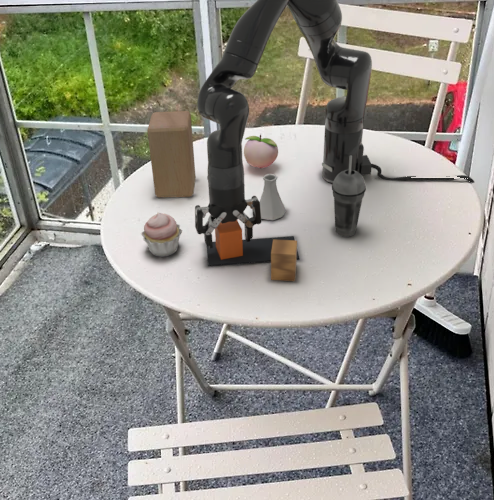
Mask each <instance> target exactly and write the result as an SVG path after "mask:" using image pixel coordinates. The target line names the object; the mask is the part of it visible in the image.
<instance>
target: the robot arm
mask: <svg viewBox="0 0 494 500" xmlns="http://www.w3.org/2000/svg"><path fill="white" fill-rule="evenodd" d="M286 7H287V8H288V9H289V11H290V14H291V16H292V18H293V20H294V22H295V24H296V26H297V27H298V30H299V31H300V33H301V34H302V36H303V38H304V40H305V42H306V44H307V46H308V48H309V50H310V53H311V54H312V57H313V60H314V62H315V66H316V69H317V72H318V75H319V77H320V79H321V81H322V82H323V83H324V84H325V85H326V86H328V87H331V88H336V89H340V90H343V91H346V95H344V96H338V97H335V98H332V99H330V100H329V101H328V102H327V103H326V106H325V118H324V135H323V136H324V138H323V139H324V140H323V154H322V156H323V158H322V163H321V167H322V171H321V176H322V179H323V180H324V181H326V182H327V183H330V184H333V182H334V179H335V178H336V176H337V175H338V174H339V173H340V172H342V171H344V170H349V158H350V155H351V156H352V165H351V170H355V171H357V172H359V173H360V174H361V175H362V176H370V175H372V169H374V170H376V171H377V173H376V174H377V177H378V178H379V179H381V180H384V181H392V182H393V181H394V182H402V181H457V180H458V179H454V178H411V177H416V176H417V175H407V177H406V176H405V175H404V176H397V177H388V176H385V175H384V174H382V172H383V171H382V168H381V167H380V166H379V165H377V164H374V163H371V161H370V159H369V158H370V157H368V155H367V154H364V150H365V149H364V148H365V146H364V145H363V132H364V121H365V111H366V107H367V103H368V100H369V99H368V98H369V89H370V83H371V77H372V70H373V61H372V57H371V54H370V53H369V52H368V51H364V50H360V49H354V48H347V47H343V46H340V45H339V44H338V43H337V42H336V39H335V38H336V36H337V34H338V32H339V31H340V28H341V25H342V21H343V12H342V10H341V6H340V4H339V2H338V0H256V1H255V2H254V3H253V4H251V6H250V7H248V9H246V11H245V12H244V13H243V14H242V15H241V16H240V17H239V18H238V20H237V21H236V23H235V25H234V27H233V28H232V30H231V33H230V35H229V38H228V40H227V43H226V45H225V48H224V51H223V53H222V56H221V59H220V60H219V61H218V63H217V64H216V65H215V67H214V69H213V70H212V71H211V73H210V74H209V75H208V77H207V79H206V80H205V82H204V83H203V84H202V86H201V87H200V90H199V92H198V95H197V99H196V100H197V101H196V109H197V111H198V113H199V115H200V116H201V117H203V118H204V119H206V120H209V121H210V122H213V123H215V124H217V125H219V129H216V130H214V131H212V132H211V133H210V134H209V135H208V137H207V139H206V151H207V153H206V154H207V176H206V178H207V179H206V180H207V185H208V186H207V187H208V205H207V206H201V205H199V204H197V205H195V206H194V227H195V230H196V233H197V234H198V235H203V236H204V244H205V246H206V247H207V246H209V248H213V243H212V242H213V232H214V231H215V228H217V227H218V225H219V224H220V223H222V224H223V223H227V222H235V221H236V220H239V221H240V223H242V224H244V240H245V239H246V241H247V242H250V239H254V238H253V237H254V230H253V229H254V226H255V225H261V224H262V219H261V211H260V202H259V201H260V199H259V198H258V196H257V195H253V196H251V198H248V199H246V194H245V193H246V192H245V167H244V163H243V162H244V161H243V139H244V135H245V132H246V127H247V124H248V120H249V115H250V105H249V101H248V98H247V97H246V95H245V94H244V93H242V92H241V91H238V90H237V89H236V90H235V89H234V88H233V87H234V86H235V84H236V83H237V82H238V81H240V80H250V79H253V77H254V76H255V74H256V72H257V69H258V66H259V64H260V62H261V60H262V57H263V54H264V52H265V49H266V47H267V45H268V42H269V40H270V37H271V35H272V33H273V31H274V29H275V27H276V25H277V23H278V21H279V20H280V17H281V16H282V14H283V13H284V11H285V9H286ZM456 176H457V177H460V178H464V179H463V180H465V181H467V182H469V181H470V182H469V183H470V184H475V180H474V179H473V178H472V177H471V176H469V175H465V174H459V175H456ZM465 178H466V179H465ZM467 178H468V179H467ZM248 207H249V208H250V209H251V210H252V216H251V217H250V216H248V214H246V212H245V210H246V209H247V208H248ZM208 213H209V214H210V215H209V216H208V218H207V221H206V222H205V224H204V218H205V217H206V216H207V214H208Z"/></svg>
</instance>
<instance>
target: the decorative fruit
mask: <svg viewBox="0 0 494 500" xmlns="http://www.w3.org/2000/svg"><path fill="white" fill-rule="evenodd" d="M244 140H246V142H245V144H244V147H243V156H244V159H245V161H246V163H247V164H248V165H250V166H252V167H254V168H258V169H265V168H268V167H271V166H272V165H273V164H274V163H275V161H276V160H277V158H278V155H279V148H278V147H279V146H278V145H277V143H276V141H274V140H273V139H272V138H269V137H262V134H260V135H259V136H256V135H249V136H247V137H245V138H244Z"/></svg>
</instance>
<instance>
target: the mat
mask: <svg viewBox="0 0 494 500" xmlns="http://www.w3.org/2000/svg"><path fill="white" fill-rule="evenodd" d="M273 239H275V240H296V239H295V236H294V235H289V236H288V235H287V236H273V237H261V238H259V237H258V238H252V239H250V242H247V241H246V239H245V238H244V239H242V243H243V256H239V257H234V258H228V259H223V260H221V258H220V256H219V253H218V251H217V248H216V241H212V243H213V248H209V246H207V245H206V256H207V266H208V267H219V266H233V265H249V264H262V263H263V264H264V263H271V250H272V244H273ZM300 259H301V257H300V255H299V251H298V249H297V261H300Z"/></svg>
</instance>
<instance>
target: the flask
mask: <svg viewBox="0 0 494 500" xmlns="http://www.w3.org/2000/svg"><path fill="white" fill-rule="evenodd" d="M277 179H278V175H277V174H274V173H267V174H265V175H264V176H263V177H262V181H264V182H263V191H262V193H261V196H260V198H259V202H260V211H261V220H268V221H276V220H278V219H280V218H283V217H284V215H285V213H286V212H287V209H286V207H285V204H284V203H283V200H282V198H281V196H280V193H279V190H278V187H277V186H278V185H277Z"/></svg>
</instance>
